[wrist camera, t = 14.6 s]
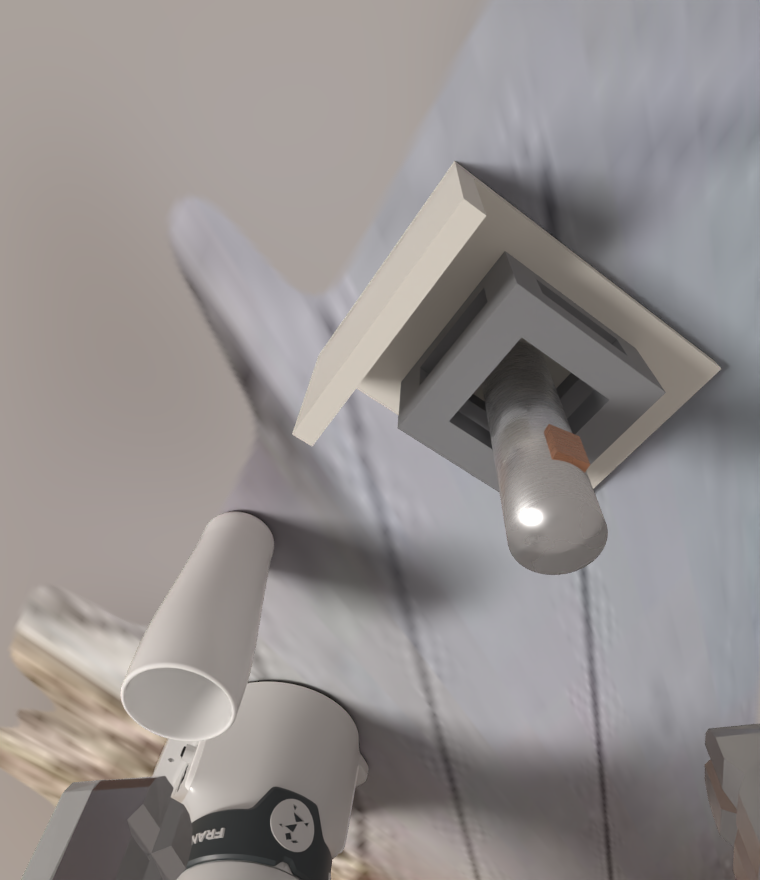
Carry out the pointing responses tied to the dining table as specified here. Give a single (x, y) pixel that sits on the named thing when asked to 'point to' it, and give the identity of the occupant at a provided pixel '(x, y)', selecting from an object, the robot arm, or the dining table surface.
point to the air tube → (540, 468)
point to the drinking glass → (203, 635)
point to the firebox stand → (499, 336)
